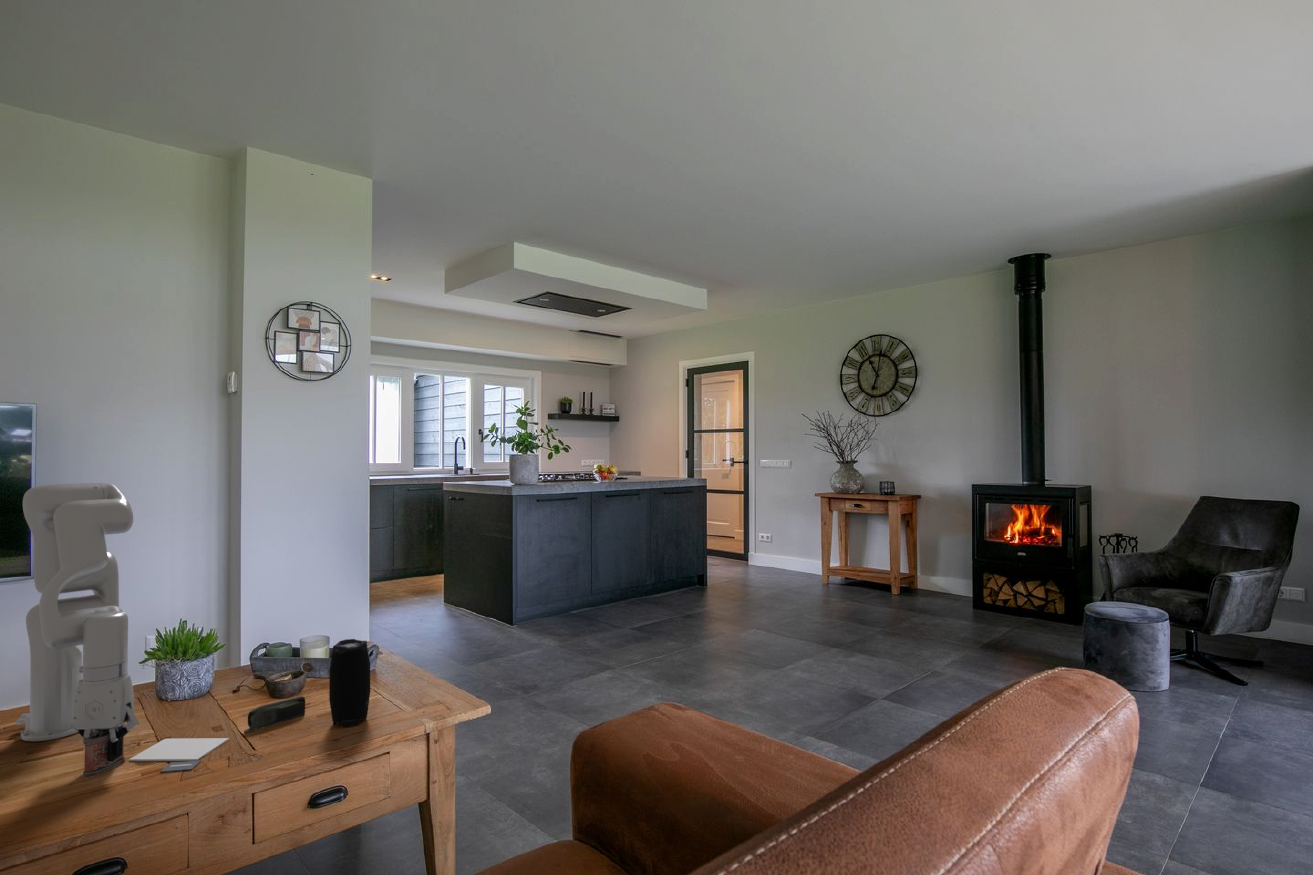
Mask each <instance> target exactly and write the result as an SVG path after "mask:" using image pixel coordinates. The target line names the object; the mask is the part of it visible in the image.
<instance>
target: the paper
mask: <svg viewBox="0 0 1313 875" xmlns="http://www.w3.org/2000/svg"><path fill="white" fill-rule="evenodd" d="M228 741H230V737H227V738H226V737H224V738H223V737H219V738H218V737H216V738H215V737H214V738H213V737H210V738H207V737H205V738H202V737H200V738H197V737H195V738H188V737H187V738H183V737H182V738H179V737H178V738H164V739H162V740H160V741H158V742H157V743H155V744H153V745H152V746H150V747H148V748H146V749H144V750H143V751H141V752H139V753H138V754H136V755H134V756H133V757H130V758H129V759H128V762H188V761H197V760H198V761H200V760H201V759H202V757H203V756H204V757H206V756H207V755H209V754H210V753H212V752H213V751H215V750H217V749H218V748H219V747H220V745H221V746H222V745H224V744H225V743H226V742H228ZM214 749H215V750H214ZM205 755H206V756H205ZM204 757H203V758H204ZM200 758H201V759H200ZM199 759H200V760H199Z"/></svg>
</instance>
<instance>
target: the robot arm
mask: <svg viewBox="0 0 1313 875" xmlns="http://www.w3.org/2000/svg"><path fill="white" fill-rule="evenodd" d="M22 510H23V515H24V516H23V517H24V518H25V521H26V523H27V525H28V528H29V530H30V532H31V535H32V537H33V581H34V587H35V589H36V591H37V592H38V593H40V594H41V595H40V599H39V603H38V604H36V605H34V606H32V607H31V608H30V609H29V610H28V612H27V614H26V615H25V627H26V631H27V637H28V643H29V654H30V660H29V661H30V663H29V664H30V670H29V671H30V682H29V685H30V686H29V688H30V690H29V693H30V694H29V712H28V713H22V714H21V715H20V717H19V718H18V719H16V720H15V724H16V725H17V726H19V725H21V726H22V725H25V727H24V730H23V731H21V733H20V739H21V740H22V741H25V742H42V741H50V740H57V739H61V738H64V737H67V736H72V735H74V734H76V733H78V734H79V735H80V736H81V737H82V741H83V742H84V739H86V738H88V737H90V736H92V735H91V733H90V729H109V732H110V739H111V742H109V743H108V761H113V760H115V759H117V758H118V757H120V756H122V752H123V737H124V738H125V737H126V736H127V734H128V733H129V732H131V730H133V729H134V728H136V727H138V726H139V724H140V721H139V720H138V718H137V717H136V715H135V696H134V695H135V693H134V688H133V687H134V686H133V682H132V678H131V675H130V674H128V673H129V672H128V669H129V665H128V664H129V663H128V662H129V660H128V659H129V656H128V655H129V617H128V614H127V613H126V612H125V611H123V609H122V608H121V607H120V588H119V586H120V584H119V582H120V581H119V577H120V576H119V574H120V573H119V566H118V562H117V559H116V557H115V555H114V554H113V553H112V552H109V551H108V548H107V544H106V543H107V542H106V537H105V535H116V534H117V535H118V534H124V533H127V532H129V531H130V530H131V529H132V526H133V524H134V513H133V509H132V506H131V504H130V502H129V500H128V499H127V498H126V496H125V495H124V494H123V493H122V491H121V490H120V489H119V488H118V487H117V485H114V484H112V483H109V482H89V483H88V482H87V483H85V482H83V483H54V484H53V483H52V484H43V485H38V486H33V487H31V488H29V489H28V490H26V492H24V495H23V498H22ZM83 591H84V592H85V591H92V592H93V594H91V595H83V596H77V597H67V598H60V599H59V595H60V594H68V593H77V592H83ZM77 646H82V651H81V650H80V649H79V647H77ZM125 723H126V724H125ZM117 728H118V732H117Z"/></svg>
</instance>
